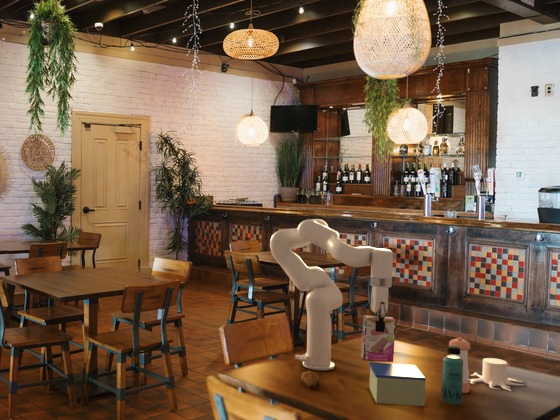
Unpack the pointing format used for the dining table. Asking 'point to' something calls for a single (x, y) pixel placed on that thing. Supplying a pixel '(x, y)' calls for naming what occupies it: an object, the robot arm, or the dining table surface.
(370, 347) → the candy bar box
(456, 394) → the beverage bottle
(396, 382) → the container
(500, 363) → the tree stump
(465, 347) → the pepper shaker
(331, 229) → the robot arm
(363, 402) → the dining table surface
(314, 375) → the croissant
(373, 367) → the container lid
